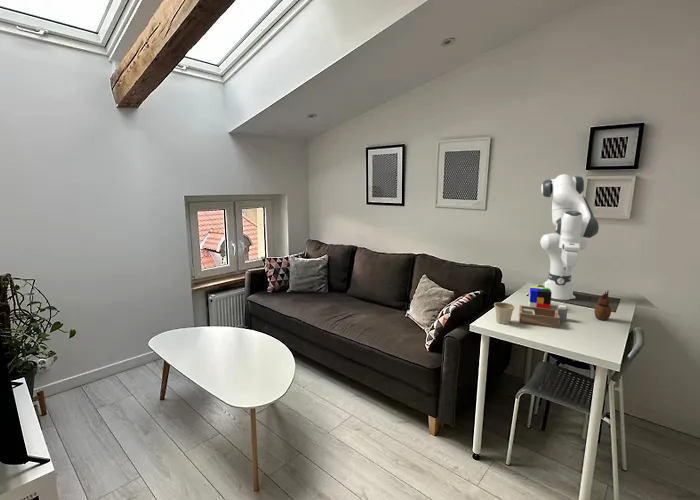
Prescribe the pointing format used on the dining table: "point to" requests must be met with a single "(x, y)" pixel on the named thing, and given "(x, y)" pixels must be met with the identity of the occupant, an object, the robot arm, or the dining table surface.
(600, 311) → the wooden figurine
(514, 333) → the dining table surface
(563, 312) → the connector
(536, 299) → the puzzle toy
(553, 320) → the walled box
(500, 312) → the flower pot
